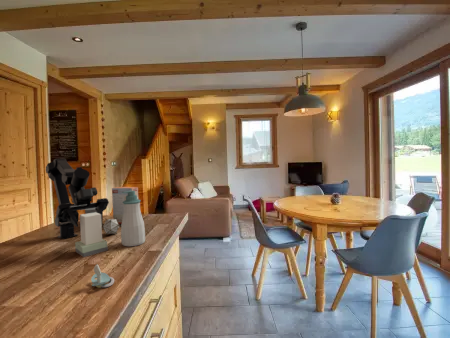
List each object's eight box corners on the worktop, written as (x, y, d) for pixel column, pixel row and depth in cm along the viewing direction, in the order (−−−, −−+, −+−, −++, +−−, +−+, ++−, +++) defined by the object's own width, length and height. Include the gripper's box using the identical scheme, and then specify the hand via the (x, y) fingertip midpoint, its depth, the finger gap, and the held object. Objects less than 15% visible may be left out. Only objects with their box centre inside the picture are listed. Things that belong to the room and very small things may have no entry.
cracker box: (140, 222, 144) (138, 186, 143) (133, 225, 139) (131, 187, 138) (120, 221, 149) (119, 186, 148) (113, 223, 143) (111, 187, 142)
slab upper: (75, 247, 100) (75, 242, 100) (99, 241, 106) (98, 236, 106) (82, 253, 94) (82, 247, 93) (107, 246, 100) (107, 241, 100)
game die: (113, 242, 121) (111, 229, 115) (98, 236, 122) (95, 223, 116) (125, 229, 128) (123, 216, 122) (111, 223, 129) (109, 210, 123)
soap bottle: (117, 243, 108) (115, 191, 107) (138, 238, 115) (136, 189, 114) (128, 248, 101) (125, 193, 100) (149, 242, 108) (147, 190, 107)
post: (81, 241, 100) (79, 214, 99) (96, 238, 104) (95, 212, 104) (85, 245, 96) (84, 217, 95) (102, 241, 100) (101, 214, 99)
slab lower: (75, 253, 100) (75, 247, 100) (99, 246, 107) (98, 241, 106) (83, 258, 94) (83, 253, 94) (108, 251, 101) (107, 246, 100)
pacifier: (112, 277, 77) (91, 281, 74) (112, 257, 77) (90, 261, 74) (115, 287, 71) (92, 293, 68) (115, 265, 71) (91, 270, 68)
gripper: (56, 183, 96) (67, 216, 89) (106, 179, 110) (118, 207, 103) (51, 202, 101) (61, 233, 94) (99, 196, 115) (111, 223, 108)
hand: (90, 223), depth 100 cm, fingers open, 9 cm apart
